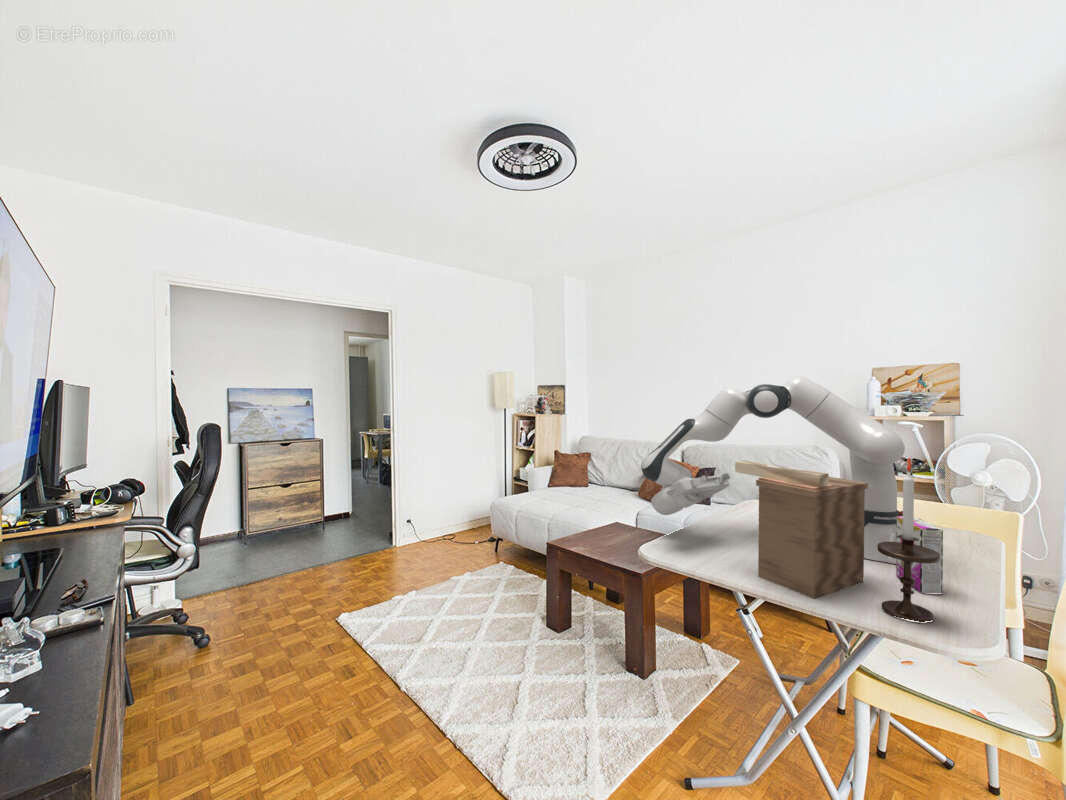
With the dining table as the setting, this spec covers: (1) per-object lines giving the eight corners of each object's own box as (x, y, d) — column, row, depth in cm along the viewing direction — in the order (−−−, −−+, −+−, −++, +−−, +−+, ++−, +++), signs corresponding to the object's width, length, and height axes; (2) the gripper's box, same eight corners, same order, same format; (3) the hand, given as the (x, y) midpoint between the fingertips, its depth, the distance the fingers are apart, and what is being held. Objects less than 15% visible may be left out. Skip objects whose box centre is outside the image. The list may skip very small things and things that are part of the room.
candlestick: (885, 598, 111) (887, 453, 111) (944, 615, 103) (947, 458, 102) (869, 611, 105) (871, 457, 104) (931, 631, 96) (933, 463, 95)
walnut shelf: (806, 562, 135) (807, 471, 134) (866, 582, 120) (867, 481, 120) (755, 576, 125) (756, 478, 124) (814, 600, 111) (815, 489, 110)
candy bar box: (894, 576, 125) (895, 515, 124) (915, 577, 124) (916, 516, 123) (920, 594, 114) (921, 527, 113) (943, 595, 113) (944, 528, 112)
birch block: (744, 470, 136) (744, 460, 136) (828, 485, 114) (828, 473, 114) (735, 471, 134) (735, 461, 134) (818, 487, 112) (818, 474, 112)
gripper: (660, 485, 149) (688, 469, 139) (706, 479, 159) (736, 465, 148) (667, 504, 147) (696, 490, 136) (713, 497, 156) (744, 483, 145)
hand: (717, 476), depth 142 cm, fingers open, 8 cm apart
